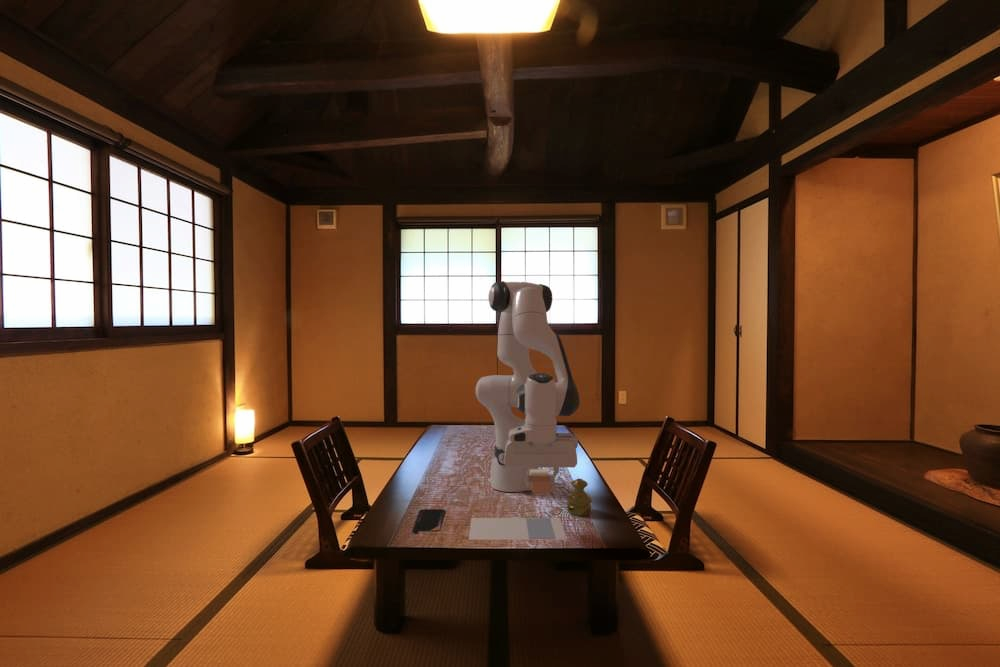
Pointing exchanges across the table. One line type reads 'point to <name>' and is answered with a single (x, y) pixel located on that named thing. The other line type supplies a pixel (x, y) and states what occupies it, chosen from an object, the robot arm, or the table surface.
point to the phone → (428, 520)
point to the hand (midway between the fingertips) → (540, 482)
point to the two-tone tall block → (540, 481)
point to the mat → (516, 529)
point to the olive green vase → (579, 499)
